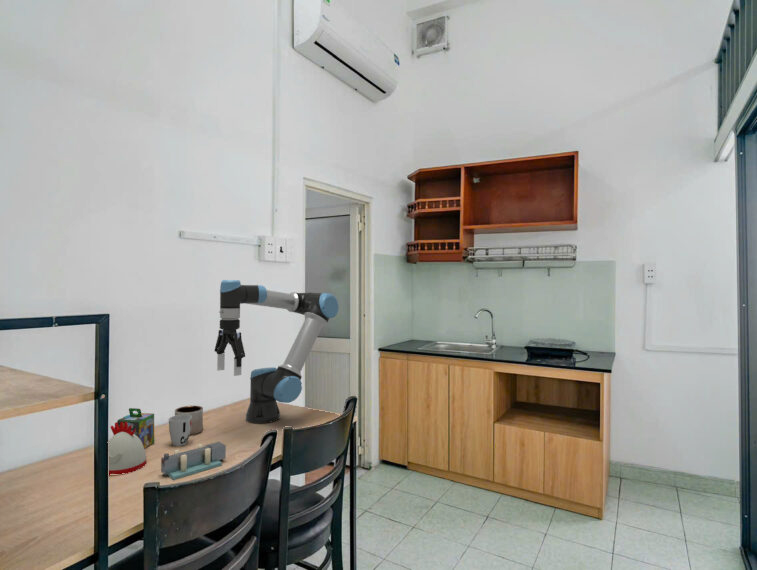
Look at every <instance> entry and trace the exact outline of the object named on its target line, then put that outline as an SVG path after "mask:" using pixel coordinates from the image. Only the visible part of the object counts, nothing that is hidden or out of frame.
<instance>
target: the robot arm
mask: <svg viewBox="0 0 757 570" xmlns="http://www.w3.org/2000/svg"><path fill="white" fill-rule="evenodd" d="M219 299H220V300H219V312H218V313H219V318H220V319H219V330H218V336H217V337H216V338H217V340H216V343H215V347H214V352H215V353H216V354H217V358H216V359H217V361H216V362H217V363H216V365H217V367H216V368H217V369H216V370H217V371H218V372H219V371H225V364H226V363H225V358H226V357H225V356H226V355H225V354H226V353H225V351H226V348H227V346H228V345H230V346H231V350H232V352H233V354H234V358H233V376H234V377H237V376H238V377H239V376H242V366H243V365H242V359H243V358H245V357H246V353H245V349H244V343H243V338H242V332H241V331H239V332H237V330H239V329H240V327H241V326H240V325H241V324H240V323H241V320H240V318H241V305H242V304H246V305H254V306H261V307H268V308H275V309H282V310H286V311H288V312H289V313H294V314H298V315H299V314H300V315H303V316H304V317H305V319H304V321H303V324H302V325H301V327H300V330H299V331H298V333H297V335H296V337H295V339H294V342H293V343H292V345H291V348H290V350H289V351H288V353H287V356H286V358H285V360H284V362H283V364H280V365H278V366H277V368H276V367H273V366H272V367H264V368H263V367H262V368H256V369H253V370H251V371H250V372H251V373H250V377H249V378H250V392H249V393H250V394H249V395H250V399H249V405H248V408H247V410H246V413H245V421H247V422H248V423H252V424H267V423H266V422H269V423H271V422H270V421H274V420H276V419H278V418H279V417H281V413H280V409H279V405H278V403H285V404H287V403H288V404H289V403H292V402H294V401H296V400H297V399H298V398H299V396H300V394H301V393H302V391H303V390H302V389H303V386H302V384H303V383H302V381H301V380H302V378H303V376H302V373H301V372H302V370H303V368H304V365H305V363H306V361H307V359H308V357H309V356H310V353H311V350H313V349H312V348H313V347H314V345H315V343H316V341H317V338H318V336H319V335H320V332H321V330H322V327H324V326H326V325H328V322H329V320H330V319H333V318H335V317H336V316H337V314H338V313H339V309H340V308H339V302H338V299H337V298H336V296H335V295H334V294H331V293H327V292H295V291H294V292H293V291H292V292H290V293H286V292H281V291H276V290H275V291H273V290H268V289H267V288H266V287H265V286H263V285H260V284H242V283H241V280H235V279H223V280H221V282H220V288H219ZM277 402H278V403H277ZM279 419H280V418H279ZM279 419H278V420H279ZM276 421H277V420H276ZM274 422H275V421H274Z"/></svg>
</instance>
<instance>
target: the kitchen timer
mask: <svg viewBox="0 0 757 570" xmlns="http://www.w3.org/2000/svg"><path fill="white" fill-rule="evenodd" d="M131 427H132V425H131V426H129V428H128V425H127V422H125V424H124V427H123V422H121V423H120V427H119V426H118V423H117V421H116V422H114V425H110V429H111V431H112V434H113V436H111V438H110V439H108V441H109V475H108V476H111V475H110V474H122V473H127V474H129V473H128V472H131V473H134V472H137V471H139V470H141V469H142V468H144V467H145V466H146V465H145V464H147V454H146V450H145V448H144V447H143V444H142V442H141V440H140V439H139V438H138V437H137V436H136V435H135V434H134V433H135V430H136V429H134V430H133V431H132V432H131ZM143 466H144V467H143ZM138 469H139V470H138ZM136 470H137V471H136ZM133 471H134V472H133ZM122 475H123V474H122Z"/></svg>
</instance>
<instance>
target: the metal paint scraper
mask: <svg viewBox="0 0 757 570" xmlns="http://www.w3.org/2000/svg"><path fill="white" fill-rule="evenodd" d="M206 448H210V449H211V457H210V461H211V462H214V461H218V460H219V461H220V460H224V459H226V452H227V451H226V448H227V445H226V444H224V443H222V442H221V441H216V442H213V443H212V442H211V443H210V444H209V443H208V444H205V446H204V445H203V447H201V448H198V447H197V448H194V449H190V450H186V451H183V452H181V451H180V453H178V454H174V453H173V454H169V453H164V454H163V456H162V457H161V458H160V459H161V461H160V462H161V463H160V464H161V465H160V472H161V473H162V474H164V475H167V474H168V473H172V472H175V471H179V470H181V455H184V454H186V455H187V468H189V467H193V466H196V465H200V464H203V463H205V449H206Z"/></svg>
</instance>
